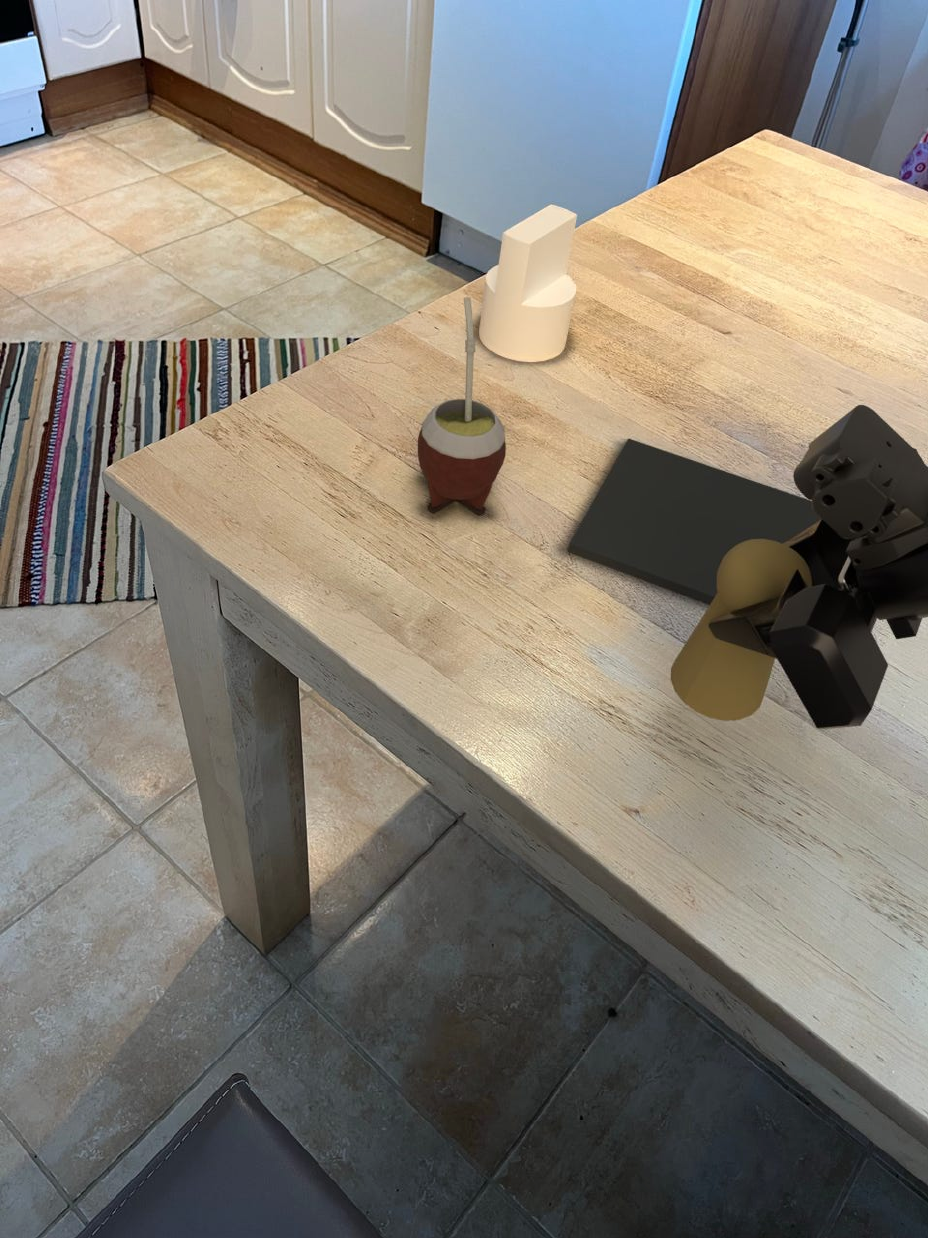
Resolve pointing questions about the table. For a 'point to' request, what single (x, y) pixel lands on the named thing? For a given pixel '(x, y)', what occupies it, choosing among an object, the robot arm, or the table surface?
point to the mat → (681, 519)
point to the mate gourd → (461, 444)
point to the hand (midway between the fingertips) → (727, 602)
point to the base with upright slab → (531, 289)
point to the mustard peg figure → (720, 670)
